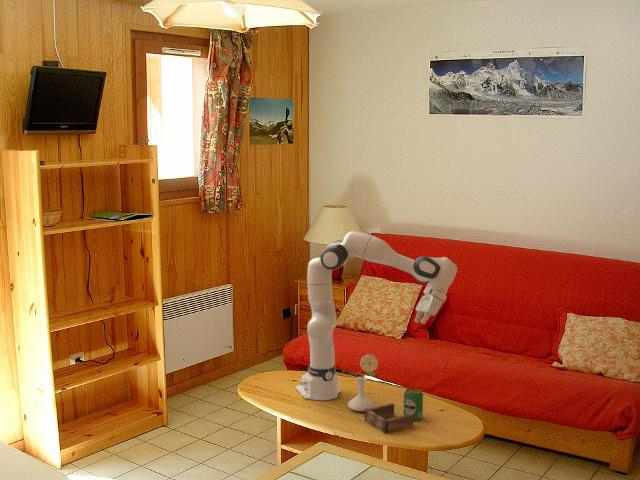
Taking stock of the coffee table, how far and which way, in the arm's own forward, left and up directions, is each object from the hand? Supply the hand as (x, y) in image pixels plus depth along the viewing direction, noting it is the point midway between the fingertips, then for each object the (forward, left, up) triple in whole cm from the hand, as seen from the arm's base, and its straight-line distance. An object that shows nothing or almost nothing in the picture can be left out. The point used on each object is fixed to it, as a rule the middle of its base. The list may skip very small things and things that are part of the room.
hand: (419, 322), depth 322 cm
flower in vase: (-15, -19, -40) cm, 46 cm away
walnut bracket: (+4, -18, -40) cm, 44 cm away
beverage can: (+4, -6, -40) cm, 41 cm away
